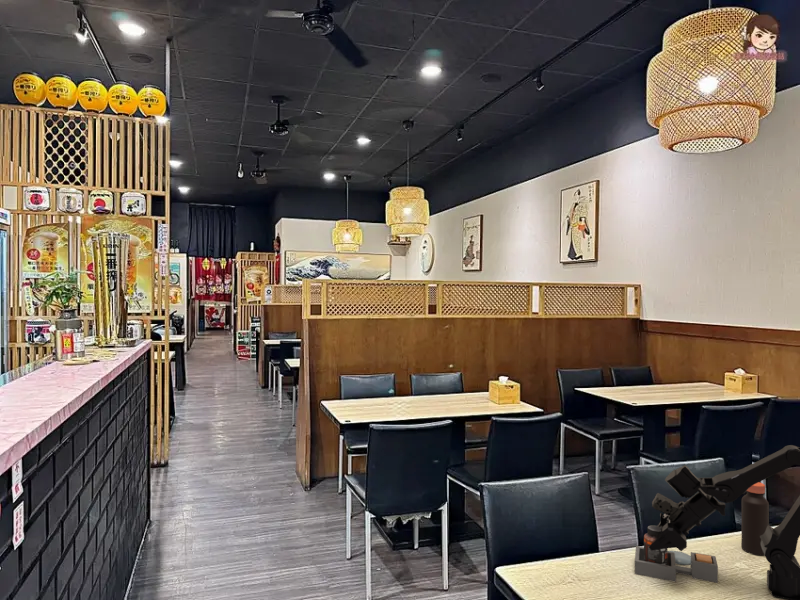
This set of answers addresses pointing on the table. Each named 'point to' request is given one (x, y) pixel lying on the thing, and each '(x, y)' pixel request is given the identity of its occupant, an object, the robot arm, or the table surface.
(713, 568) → the holder
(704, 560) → the orange-brown cube
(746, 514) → the vinegar
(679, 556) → the coaster
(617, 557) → the table surface
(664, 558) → the supplement bottle
